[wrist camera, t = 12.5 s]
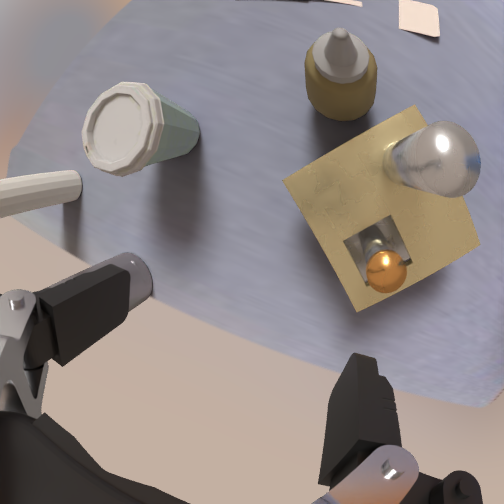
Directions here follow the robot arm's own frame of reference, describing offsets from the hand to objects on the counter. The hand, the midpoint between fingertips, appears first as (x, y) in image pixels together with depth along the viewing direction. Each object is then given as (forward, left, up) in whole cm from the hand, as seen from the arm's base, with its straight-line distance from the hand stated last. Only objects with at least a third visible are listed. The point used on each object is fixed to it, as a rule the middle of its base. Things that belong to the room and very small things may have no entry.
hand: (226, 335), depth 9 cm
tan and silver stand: (+8, -3, -30) cm, 31 cm away
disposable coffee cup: (-10, +19, -30) cm, 36 cm away
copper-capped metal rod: (+5, -6, -29) cm, 30 cm away
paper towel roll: (-35, +28, -30) cm, 53 cm away
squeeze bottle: (+11, +11, -30) cm, 34 cm away
